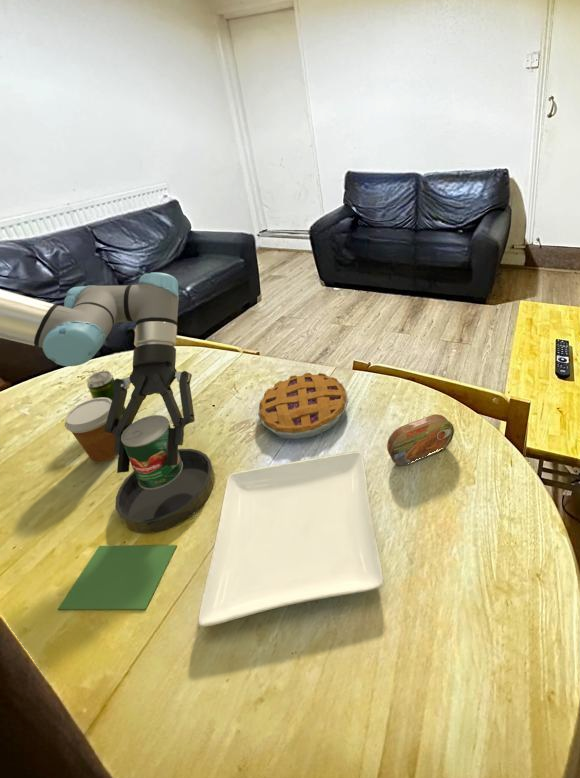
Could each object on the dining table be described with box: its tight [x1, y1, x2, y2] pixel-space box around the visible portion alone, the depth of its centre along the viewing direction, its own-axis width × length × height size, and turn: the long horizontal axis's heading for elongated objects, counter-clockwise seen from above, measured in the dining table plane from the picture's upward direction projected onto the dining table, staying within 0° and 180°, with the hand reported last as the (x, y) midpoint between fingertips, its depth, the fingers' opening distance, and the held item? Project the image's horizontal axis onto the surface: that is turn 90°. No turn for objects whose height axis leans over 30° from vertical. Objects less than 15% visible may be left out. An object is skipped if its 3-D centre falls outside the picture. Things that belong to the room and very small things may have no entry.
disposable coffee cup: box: [64, 397, 119, 464], centre depth 91 cm, size 10×10×12 cm
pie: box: [257, 372, 349, 440], centre depth 102 cm, size 22×22×5 cm
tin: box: [386, 413, 455, 466], centre depth 87 cm, size 15×3×8 cm, turn 114°
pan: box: [114, 448, 216, 534], centre depth 82 cm, size 17×17×3 cm
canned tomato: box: [121, 414, 183, 490], centre depth 78 cm, size 8×8×11 cm
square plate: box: [197, 450, 384, 628], centre depth 73 cm, size 27×27×4 cm
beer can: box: [86, 370, 126, 417], centre depth 102 cm, size 5×5×12 cm
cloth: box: [57, 544, 178, 611], centre depth 68 cm, size 14×10×1 cm
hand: (147, 468), depth 75 cm, fingers closed on canned tomato, 8 cm apart
